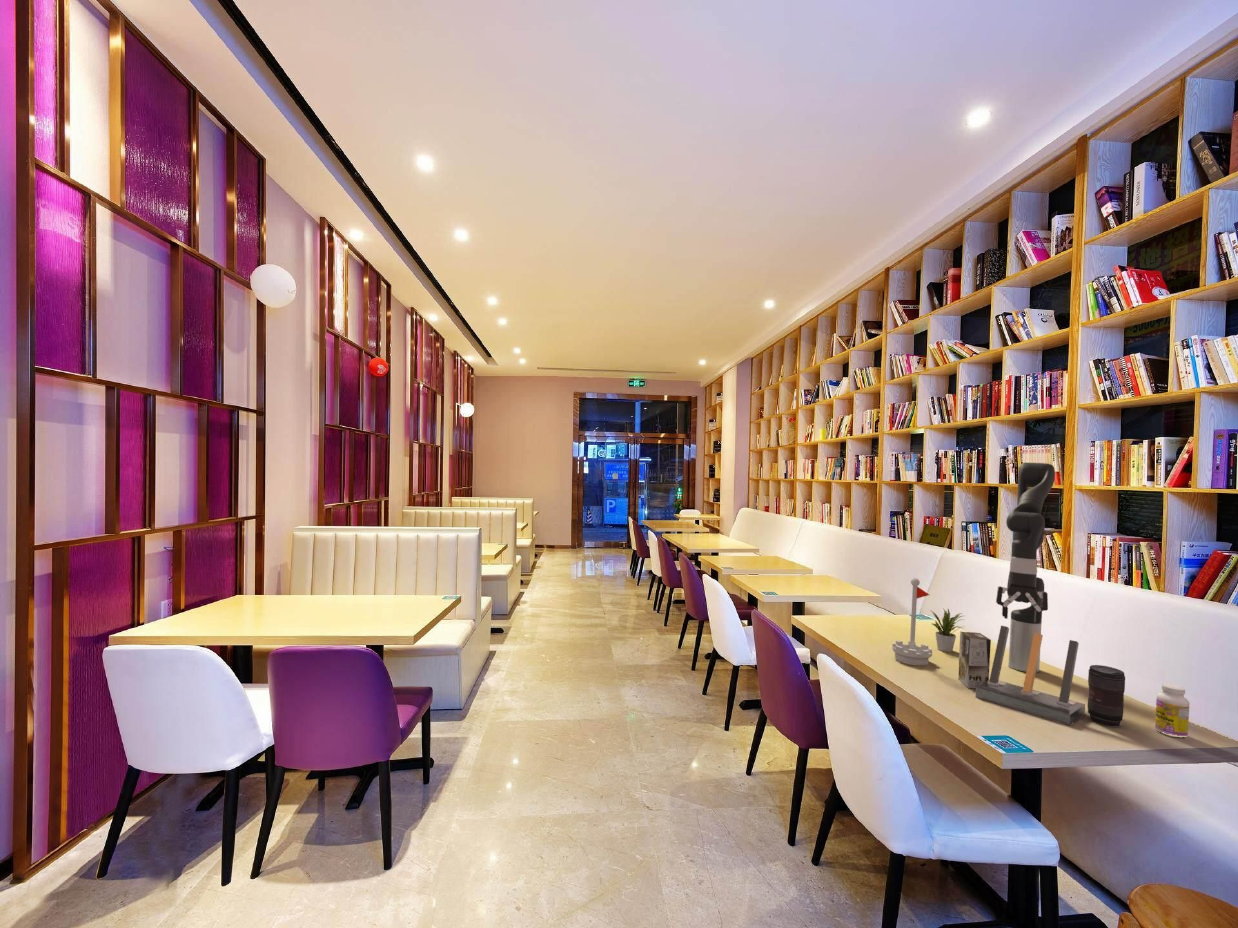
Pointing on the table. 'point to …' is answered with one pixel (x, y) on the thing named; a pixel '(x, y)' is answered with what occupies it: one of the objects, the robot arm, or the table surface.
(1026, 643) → the robot arm
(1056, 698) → the breaker panel
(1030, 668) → the lever mid
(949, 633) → the house plant
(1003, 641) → the lever low
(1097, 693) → the camera lens
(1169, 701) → the supplement bottle
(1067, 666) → the lever high
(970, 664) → the coffee box
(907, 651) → the flag stand
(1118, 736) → the table surface
